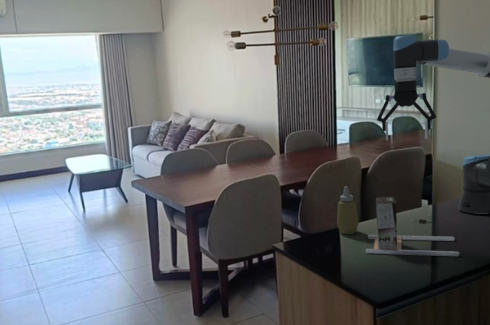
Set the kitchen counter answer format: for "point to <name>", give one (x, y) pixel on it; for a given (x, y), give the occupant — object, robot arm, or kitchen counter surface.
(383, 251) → the rail
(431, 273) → the kitchen counter surface
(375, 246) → the pad
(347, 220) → the squeeze bottle
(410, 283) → the kitchen counter surface
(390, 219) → the coffee box
